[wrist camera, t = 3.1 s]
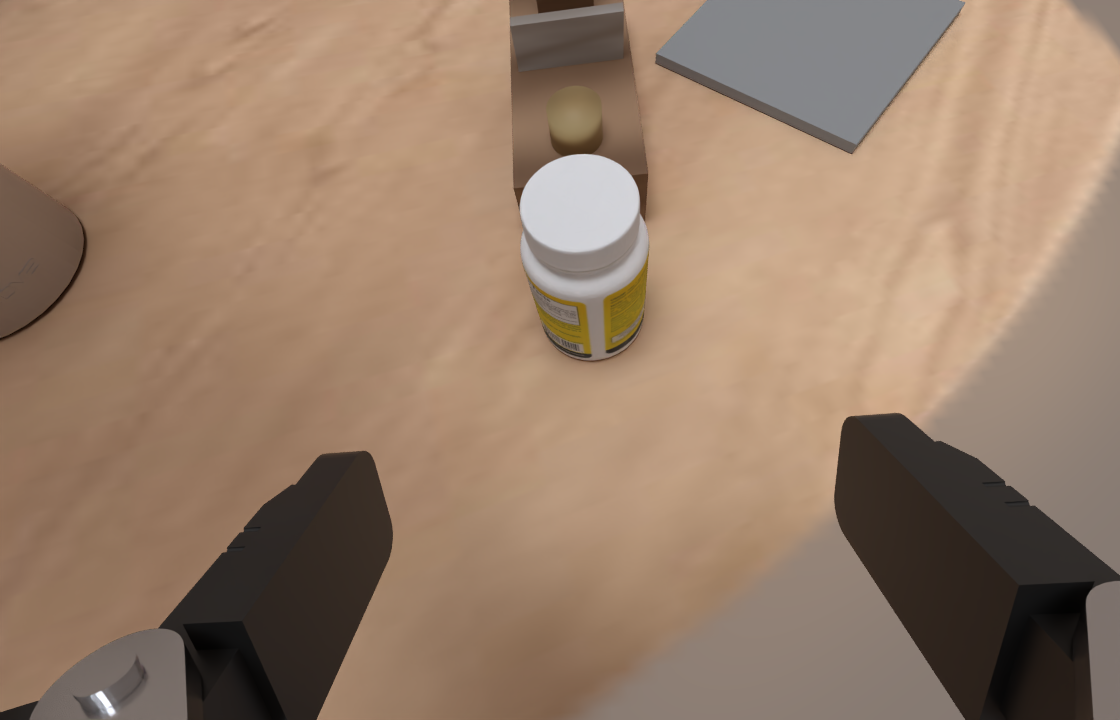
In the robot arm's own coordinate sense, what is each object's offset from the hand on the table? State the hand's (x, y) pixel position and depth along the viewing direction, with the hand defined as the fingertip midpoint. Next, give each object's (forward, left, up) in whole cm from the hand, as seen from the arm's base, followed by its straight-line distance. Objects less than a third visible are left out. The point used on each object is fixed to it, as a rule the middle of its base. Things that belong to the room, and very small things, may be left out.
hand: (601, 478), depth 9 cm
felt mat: (-8, +28, -13) cm, 32 cm away
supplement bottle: (-7, +7, -13) cm, 17 cm away
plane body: (-15, +16, -13) cm, 25 cm away
